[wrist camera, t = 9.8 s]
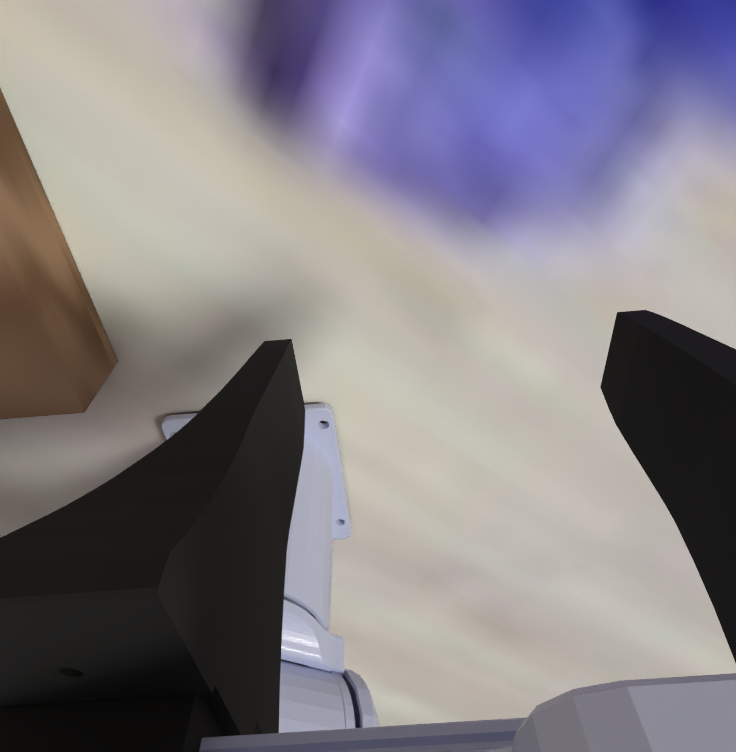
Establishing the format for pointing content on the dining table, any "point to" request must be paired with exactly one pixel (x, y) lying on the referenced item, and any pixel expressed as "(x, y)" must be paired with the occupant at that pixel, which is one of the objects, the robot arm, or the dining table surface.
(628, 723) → the robot arm
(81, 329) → the well
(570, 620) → the dining table surface
